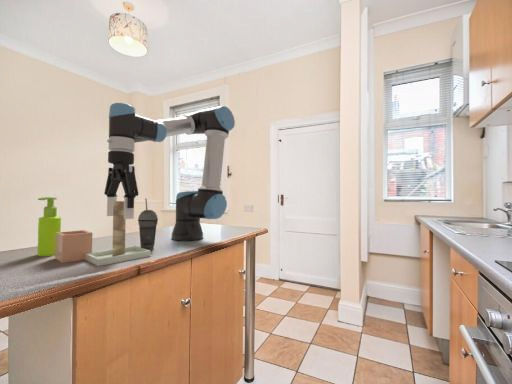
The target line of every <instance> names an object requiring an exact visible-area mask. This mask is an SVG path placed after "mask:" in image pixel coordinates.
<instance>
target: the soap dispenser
mask: <svg viewBox="0 0 512 384" xmlns="http://www.w3.org/2000/svg"><path fill="white" fill-rule="evenodd" d="M37 200H38V201H45V200H46V201H47V202H46V206H44V207H43V216H41V217H39V218H38V226H37V228H38V231H37V257H50V256H55V233H56V232H62V231H61V230H62V229H61V228H62V217H61V216H57V207H56V206H55V204H54V203H55V200H57V197H53V196H52V197H51V196H50V197H49V196H47V197H46V196H44V197H39V198H37Z"/></svg>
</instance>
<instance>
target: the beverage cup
mask: <svg viewBox="0 0 512 384" xmlns="http://www.w3.org/2000/svg"><path fill="white" fill-rule="evenodd" d="M144 200H145V209H144V210H143V211H141V212H140V214H139V215H138V219H137V221H138V226H139V227H138V229H139V241H140V248H144V249H147V250H150V251H153V250H154V247H155V243H156V241H155V240H156V232H157V231H156V230H157V226H158V220H159V218H158V214H157V212H155V211H154V210H152V209H149V208H148V201H147V200H148V199H147V198H145V199H144Z"/></svg>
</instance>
